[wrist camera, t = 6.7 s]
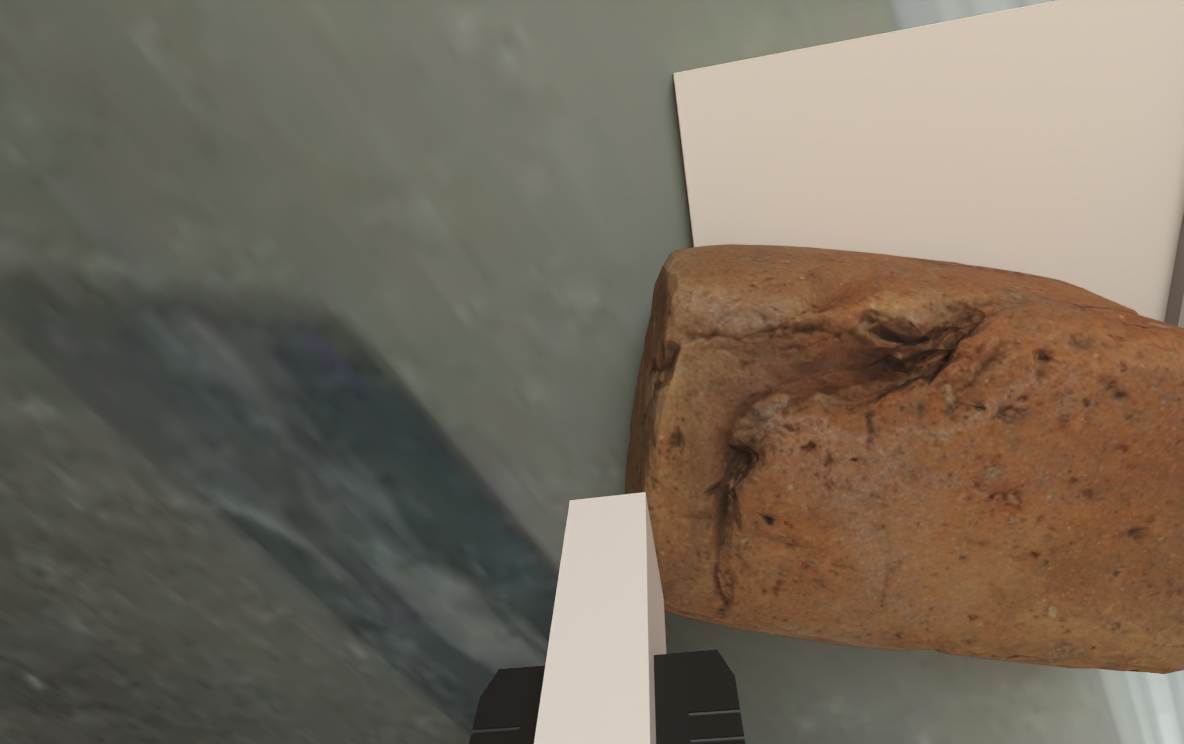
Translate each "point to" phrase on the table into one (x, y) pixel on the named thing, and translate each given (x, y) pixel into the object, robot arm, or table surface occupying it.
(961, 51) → the mat
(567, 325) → the table surface
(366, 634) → the table surface
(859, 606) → the raisin bread loaf
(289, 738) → the table surface
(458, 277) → the table surface
